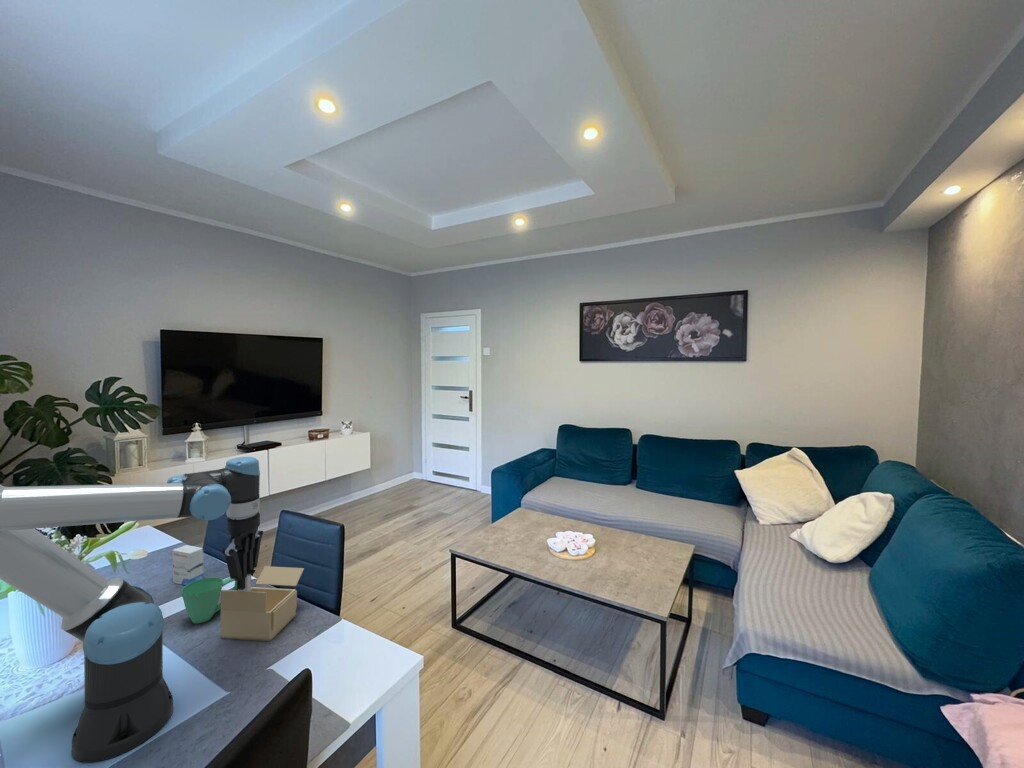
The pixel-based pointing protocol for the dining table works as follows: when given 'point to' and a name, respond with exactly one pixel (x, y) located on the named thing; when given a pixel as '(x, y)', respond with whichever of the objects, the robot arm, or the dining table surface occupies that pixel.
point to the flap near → (244, 601)
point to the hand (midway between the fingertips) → (244, 598)
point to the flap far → (280, 576)
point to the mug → (204, 597)
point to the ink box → (187, 564)
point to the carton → (261, 617)
